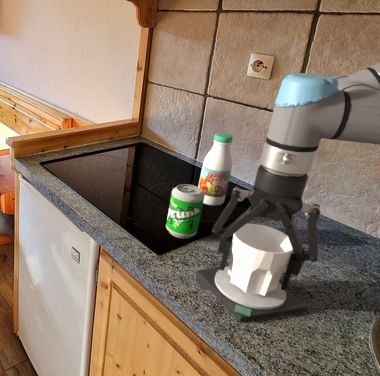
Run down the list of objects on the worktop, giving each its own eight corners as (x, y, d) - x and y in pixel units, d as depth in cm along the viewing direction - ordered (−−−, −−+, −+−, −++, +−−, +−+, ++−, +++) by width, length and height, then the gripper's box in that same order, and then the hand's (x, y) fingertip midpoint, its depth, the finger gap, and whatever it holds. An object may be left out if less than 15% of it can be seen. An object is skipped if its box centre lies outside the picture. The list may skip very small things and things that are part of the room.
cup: (244, 260, 84) (255, 219, 80) (291, 288, 77) (306, 243, 72) (212, 275, 80) (222, 231, 76) (258, 305, 72) (272, 259, 68)
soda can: (171, 221, 107) (178, 180, 101) (200, 230, 103) (209, 188, 98) (160, 233, 101) (168, 190, 96) (191, 243, 97) (200, 199, 92)
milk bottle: (191, 194, 122) (204, 130, 113) (215, 194, 123) (230, 130, 114) (203, 206, 115) (217, 139, 106) (228, 205, 116) (245, 139, 107)
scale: (304, 317, 75) (309, 304, 74) (237, 328, 72) (241, 315, 71) (253, 271, 87) (256, 260, 86) (194, 279, 84) (196, 267, 83)
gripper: (209, 161, 71) (187, 266, 80) (367, 193, 60) (321, 310, 69) (217, 149, 76) (196, 248, 86) (363, 177, 66) (321, 286, 75)
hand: (252, 276), depth 78 cm, fingers closed on cup, 10 cm apart
